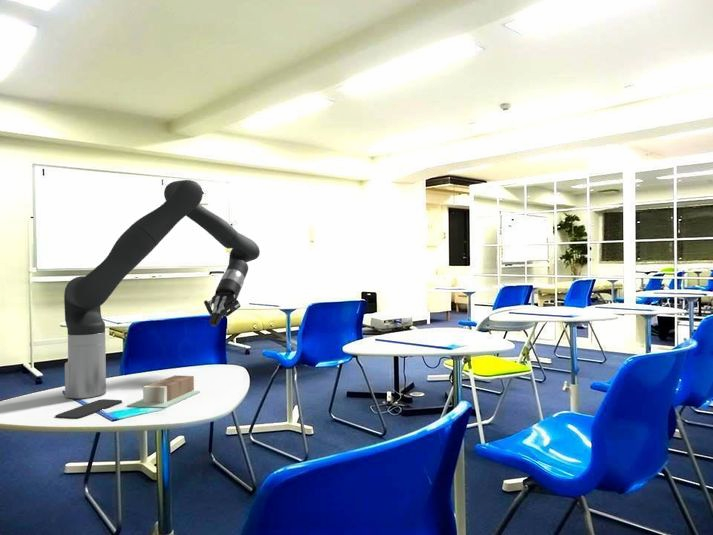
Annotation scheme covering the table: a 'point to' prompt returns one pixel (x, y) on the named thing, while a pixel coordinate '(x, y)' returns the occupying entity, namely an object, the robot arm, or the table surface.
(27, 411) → the table surface
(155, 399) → the walnut block
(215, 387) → the table surface
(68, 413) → the phone
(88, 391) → the robot arm
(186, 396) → the green mat
